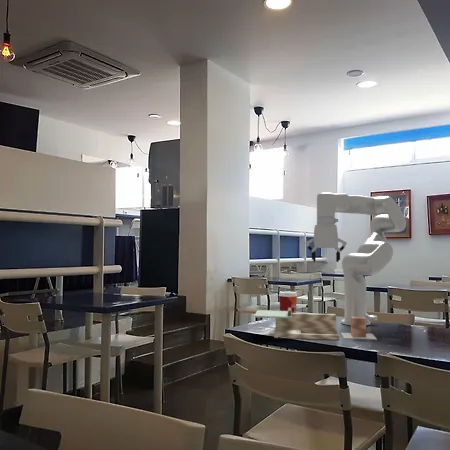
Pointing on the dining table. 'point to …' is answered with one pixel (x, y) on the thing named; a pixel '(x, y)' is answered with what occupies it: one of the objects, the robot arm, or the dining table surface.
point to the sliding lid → (273, 314)
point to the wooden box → (307, 326)
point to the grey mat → (349, 336)
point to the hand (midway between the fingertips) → (325, 261)
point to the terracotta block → (358, 326)
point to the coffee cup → (288, 301)
